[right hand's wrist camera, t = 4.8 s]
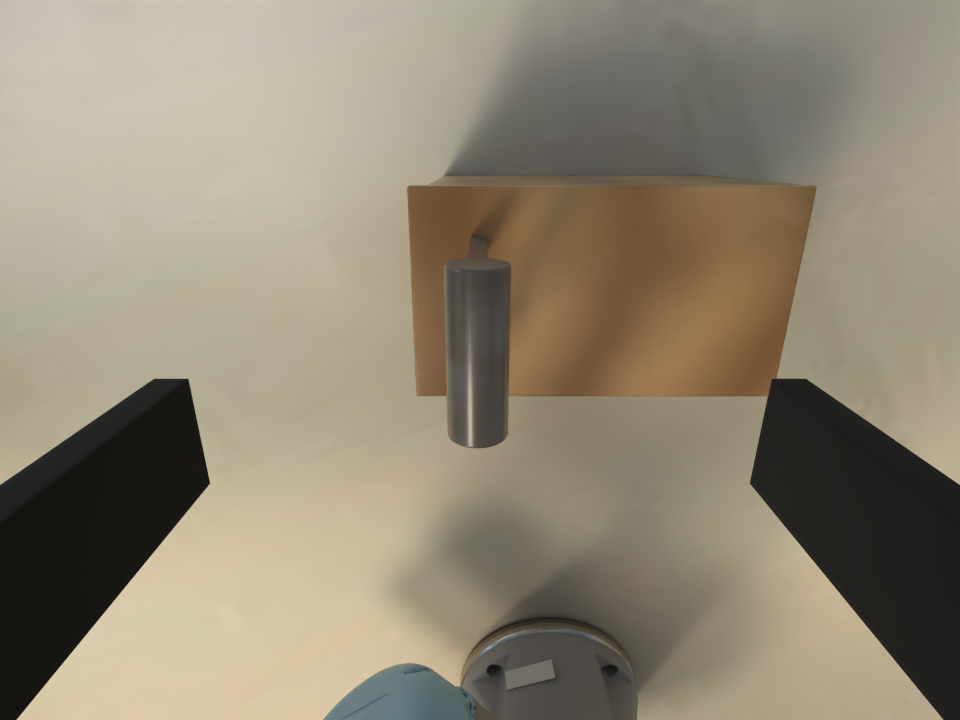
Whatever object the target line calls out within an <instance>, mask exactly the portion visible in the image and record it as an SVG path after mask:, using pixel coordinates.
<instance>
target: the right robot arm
mask: <svg viewBox="0 0 960 720" xmlns="http://www.w3.org/2000/svg"><path fill="white" fill-rule="evenodd" d="M209 484H210V481H209V476H208V471H207V467H206V462H205V457H204V452H203V447H202V443H201V438H200V433H199V428H198V423H197V419H196V414H195V409H194V404H193V399H192V394H191V390H190V385H189V380H188V379H153V380H152V381H150V382H149V383H147V384H146V385H145V386H143V387H142V388H140V389H139V390H137V391H136V392H134V393H133V394H132V395H130V396H129V397H127V398H126V399H124V400H123V401H121V402H120V403H118V404H117V405H116V406H114V407H113V408H111V409H110V410H108V411H107V412H105V413H104V414H103V415H101V416H100V417H98V418H97V419H95V420H94V421H92V422H91V423H90V424H88V425H87V426H85V427H84V428H82V429H81V430H79V431H78V432H76V433H75V434H74V435H72V436H71V437H69V438H68V439H66V440H65V441H63V442H62V443H61V444H59V445H58V446H56V447H55V448H53V449H52V450H50V451H49V452H48V453H46V454H45V455H43V456H42V457H40V458H39V459H37V460H36V461H34V462H33V463H32V464H30V465H29V466H27V467H26V468H24V469H23V470H21V471H20V472H19V473H17V474H16V475H14V476H13V477H11V478H10V479H8V480H7V481H6V482H4V483H3V484H1V485H0V720H17V718H18V717H19V716H20V715H21V714H22V712H23V711H24V710H25V709H26V707H27V706H28V705H29V704H30V703H31V701H32V700H33V699H34V698H35V696H36V695H37V694H38V693H39V692H40V690H41V689H42V688H43V687H44V685H45V684H46V683H47V682H48V681H49V679H50V678H51V677H52V676H53V674H54V673H55V672H56V671H57V670H58V668H59V667H60V666H61V665H62V663H63V662H64V661H65V660H66V659H67V657H68V656H69V655H70V654H71V652H72V651H73V650H74V649H75V648H76V646H77V645H78V644H79V643H80V641H81V640H82V639H83V638H84V637H85V635H86V634H87V633H88V632H89V631H90V629H91V628H92V627H93V626H94V624H95V623H96V622H97V621H98V620H99V618H100V617H101V616H102V615H103V613H104V612H105V611H106V610H107V609H108V607H109V606H110V605H111V604H112V602H113V601H114V600H115V599H116V598H117V596H118V595H119V594H120V593H121V591H122V590H123V589H124V588H125V587H126V585H127V584H128V583H129V582H130V580H131V579H132V578H133V577H134V576H135V574H136V573H137V572H138V571H139V569H140V568H141V567H142V566H143V565H144V563H145V562H146V561H147V560H148V559H149V557H150V556H151V555H152V554H153V552H154V551H155V550H156V549H157V548H158V546H159V545H160V544H161V543H162V541H163V540H164V539H165V538H166V537H167V535H168V534H169V533H170V532H171V530H172V529H173V528H174V527H175V526H176V524H177V523H178V522H179V521H180V519H181V518H182V517H183V516H184V515H185V513H186V512H187V511H188V510H189V508H190V507H191V506H192V505H193V504H194V502H195V501H196V500H197V499H198V497H199V496H200V495H201V494H202V493H203V491H204V490H205V489H206V488H207V487H208V485H209ZM750 484H751V485H752V487H753V488H754V489H755V490H756V491H757V493H758V494H759V495H760V496H761V497H762V499H763V500H764V501H765V502H766V504H767V505H768V506H769V507H770V508H771V510H772V511H773V512H774V513H775V515H776V516H777V517H778V518H779V519H780V521H781V522H782V523H783V524H784V526H785V527H786V528H787V529H788V530H789V532H790V533H791V534H792V535H793V537H794V538H795V539H796V540H797V541H798V543H799V544H800V545H801V546H802V548H803V549H804V550H805V551H806V552H807V554H808V555H809V556H810V557H811V559H812V560H813V561H814V562H815V563H816V565H817V566H818V567H819V568H820V569H821V571H822V572H823V573H824V574H825V576H826V577H827V578H828V579H829V580H830V582H831V583H832V584H833V585H834V587H835V588H836V589H837V590H838V591H839V593H840V594H841V595H842V596H843V598H844V599H845V600H846V601H847V602H848V604H849V605H850V606H851V607H852V609H853V610H854V611H855V612H856V613H857V615H858V616H859V617H860V618H861V620H862V621H863V622H864V623H865V624H866V626H867V627H868V628H869V629H870V631H871V632H872V633H873V634H874V635H875V637H876V638H877V639H878V640H879V641H880V643H881V644H882V645H883V646H884V648H885V649H886V650H887V651H888V652H889V654H890V655H891V656H892V657H893V659H894V660H895V661H896V662H897V663H898V665H899V666H900V667H901V668H902V670H903V671H904V672H905V673H906V674H907V676H908V677H909V678H910V679H911V681H912V682H913V683H914V684H915V685H916V687H917V688H918V689H919V690H920V692H921V693H922V694H923V695H924V696H925V698H926V699H927V700H928V701H929V703H930V704H931V705H932V706H933V707H934V709H935V710H936V711H937V712H938V714H939V715H940V716H941V717H942V718H943V720H960V485H959V484H957V483H956V482H954V481H953V480H952V479H950V478H949V477H947V476H946V475H944V474H943V473H941V472H940V471H939V470H937V469H936V468H934V467H933V466H931V465H930V464H928V463H927V462H926V461H924V460H923V459H921V458H920V457H918V456H917V455H915V454H914V453H912V452H911V451H910V450H908V449H907V448H905V447H904V446H902V445H901V444H899V443H898V442H897V441H895V440H894V439H892V438H891V437H889V436H888V435H886V434H885V433H884V432H882V431H881V430H879V429H878V428H876V427H875V426H873V425H872V424H870V423H869V422H868V421H866V420H865V419H863V418H862V417H860V416H859V415H857V414H856V413H855V412H853V411H852V410H850V409H849V408H847V407H846V406H844V405H843V404H842V403H840V402H839V401H837V400H836V399H834V398H833V397H831V396H830V395H828V394H827V393H826V392H824V391H823V390H821V389H820V388H818V387H817V386H815V385H814V384H813V383H811V382H810V381H808V380H807V379H772V380H771V385H770V390H769V394H768V399H767V404H766V409H765V414H764V419H763V423H762V428H761V433H760V438H759V443H758V447H757V452H756V457H755V462H754V467H753V471H752V476H751V481H750Z"/></svg>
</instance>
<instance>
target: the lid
mask: <svg viewBox="0 0 960 720" xmlns="http://www.w3.org/2000/svg"><path fill="white" fill-rule="evenodd" d="M815 193H816V186H810V185H410V186H408V187H407V195H408V217H409V239H410V261H411V282H412V304H413V326H414V348H415V370H416V392H417V396H447V422H448V436H449V438H450V439H451V440H452V441H453V442H454V443H456V444H458V445H461V446H464V447H469V448H486V447H491V446H495V445H497V444H499V443H501V442H503V441H504V440H505V439H506V437H507V435H508V405H509V396H768V394H769V390H770V385H771V380H772V379H776V377H777V372H778V368H779V363H780V358H781V354H782V349H783V344H784V339H785V335H786V330H787V325H788V320H789V316H790V311H791V306H792V301H793V297H794V292H795V287H796V282H797V278H798V273H799V268H800V264H801V259H802V254H803V249H804V245H805V240H806V235H807V230H808V226H809V221H810V216H811V211H812V207H813V202H814V197H815Z"/></svg>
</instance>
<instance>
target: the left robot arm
mask: <svg viewBox="0 0 960 720" xmlns="http://www.w3.org/2000/svg"><path fill="white" fill-rule="evenodd" d="M637 703H638V701H637V690H636V683H635V678H634V675H633V672H632V668H631V665H630V662H629V660H628V658H627V656H626V654H625V652H624V651H623V649H622V648H621V647H620V646H619V645H618V643H616V642H615V641H614V640H613V639H612V638H611V637H609V636H608V635H607V634H605V633H603V632H602V631H600V630H598V629H596V628H594V627H592V626H589V625H586V624H583V623H580V622H576V621H571V620H564V619H536V620H529V621H524V622H520V623H517V624H513V625H511V626H508V627H505V628H503V629H501V630H499V631H497V632H495V633H493V634H492V635H490V636H489V637H487V638H486V639H485V640H483V641H482V642H481V643H480V644H479V645H478V646H477V647H476V648H475V649H474V650H473V651H472V653H471V654H470V655H469V657H468V659H467V660H466V662H465V664H464V667H463V670H462V673H461V681H460V687H457V686H456V687H455V686H454V685H453V684H451V683H450V682H448V681H447V680H446V679H444V678H443V677H442V676H440V675H439V674H437V673H436V672H435V671H433V670H432V669H430V668H428V667H426V666H423V665H420V664H413V663H408V664H400V665H395V666H392V667H389V668H387V669H384V670H382V671H380V672H378V673H376V674H375V675H373V676H371V677H370V678H368V679H367V680H365V681H364V682H362V683H361V684H359V685H358V686H357V687H356V688H354V689H353V690H352V691H351V692H350V693H349V694H347V695H346V696H345V697H344V698H343V699H342V700H341V701H340V702H339V703H338V704H337V705H336V706H335V707H334V708H333V709H332V710H331V711H330V712H329V713H328V715H327V716H326V717H325V718H324V720H637Z"/></svg>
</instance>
